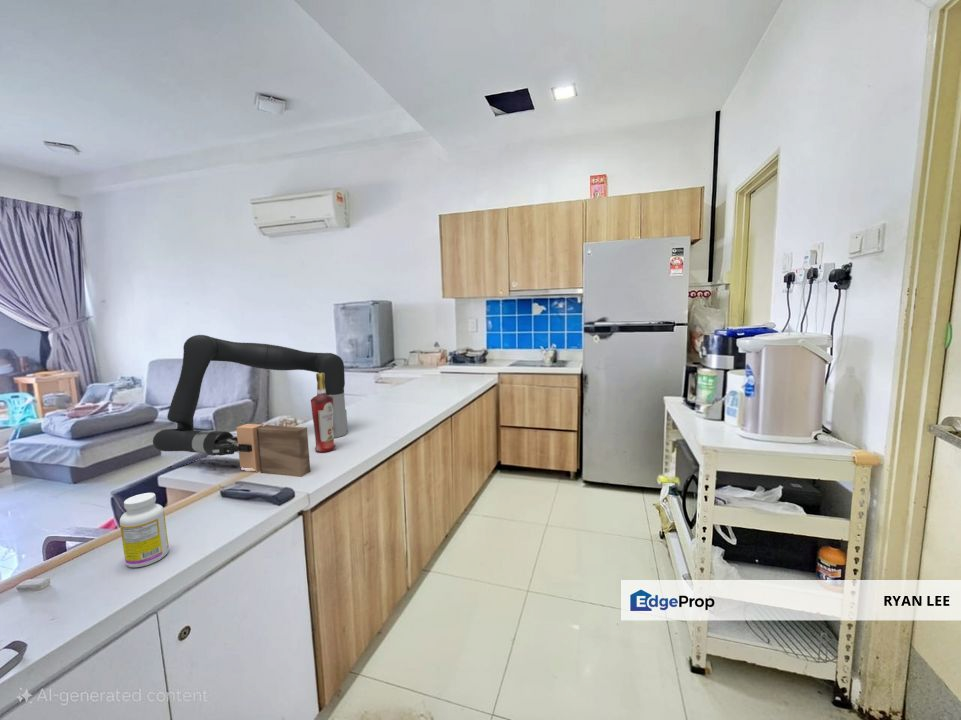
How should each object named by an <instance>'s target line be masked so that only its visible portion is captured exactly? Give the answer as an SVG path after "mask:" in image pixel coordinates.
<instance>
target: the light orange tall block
mask: <svg viewBox="0 0 961 720" xmlns="http://www.w3.org/2000/svg"><path fill="white" fill-rule="evenodd" d="M263 426H264V425H263V424H256V423H246V424H243V425H239V426H236V436H237V439H238V443H239V444H249V445H252V451H251V452H239V453H238V457H239V468H240V467H241V468H242V467H243V468H253V469H255V471H256V472H255V473H258V472H260V461H259V450H258V439H257V428H260V427H263ZM257 471H258V472H257Z"/></svg>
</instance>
